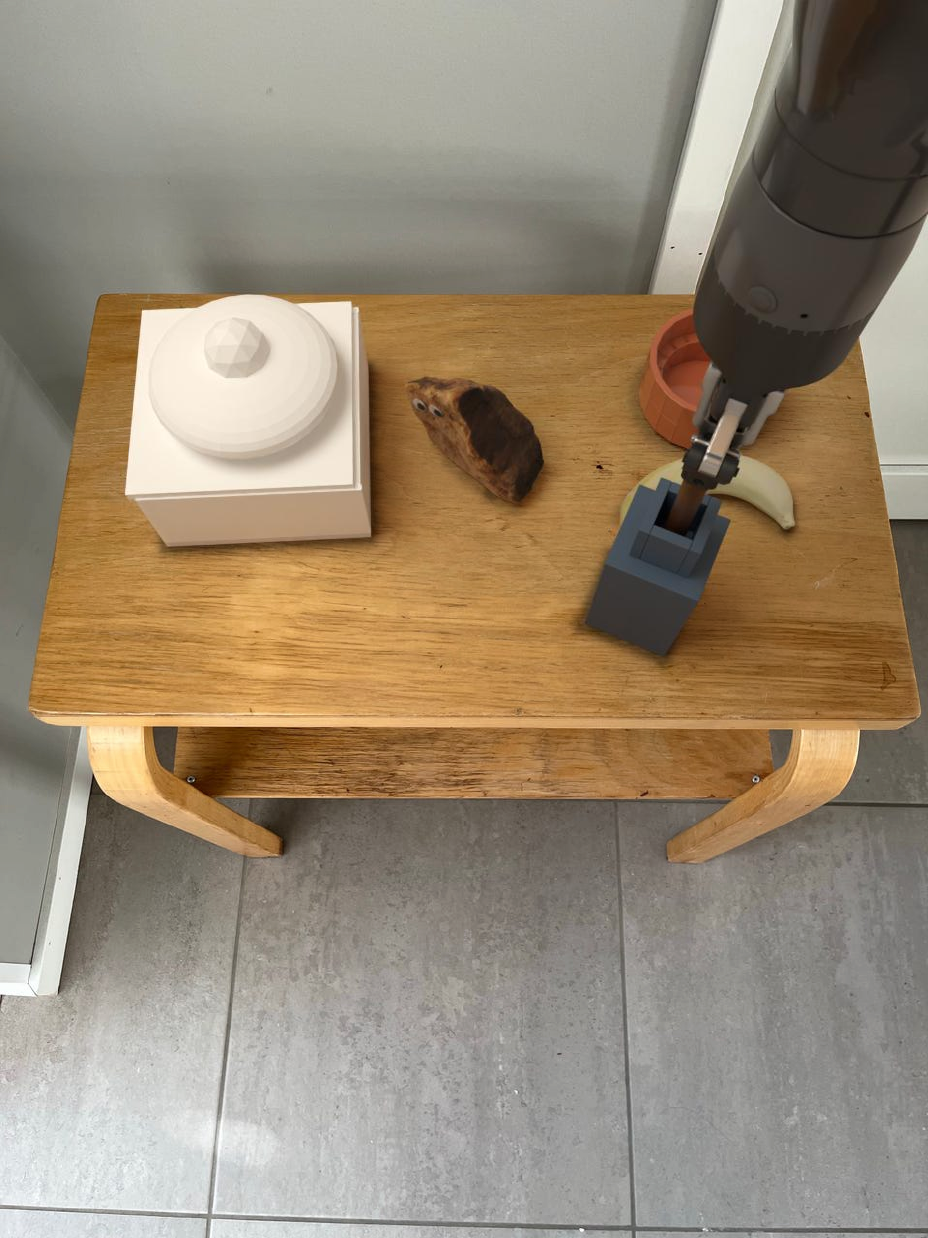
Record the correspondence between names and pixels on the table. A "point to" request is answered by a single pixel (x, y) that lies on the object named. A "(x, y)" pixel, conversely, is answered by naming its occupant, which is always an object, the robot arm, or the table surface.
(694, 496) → the stick
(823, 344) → the robot arm
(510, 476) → the decorative rock
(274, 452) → the white lidded box
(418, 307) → the table surface
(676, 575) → the holder
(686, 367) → the bowl
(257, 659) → the table surface
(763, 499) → the fruit
